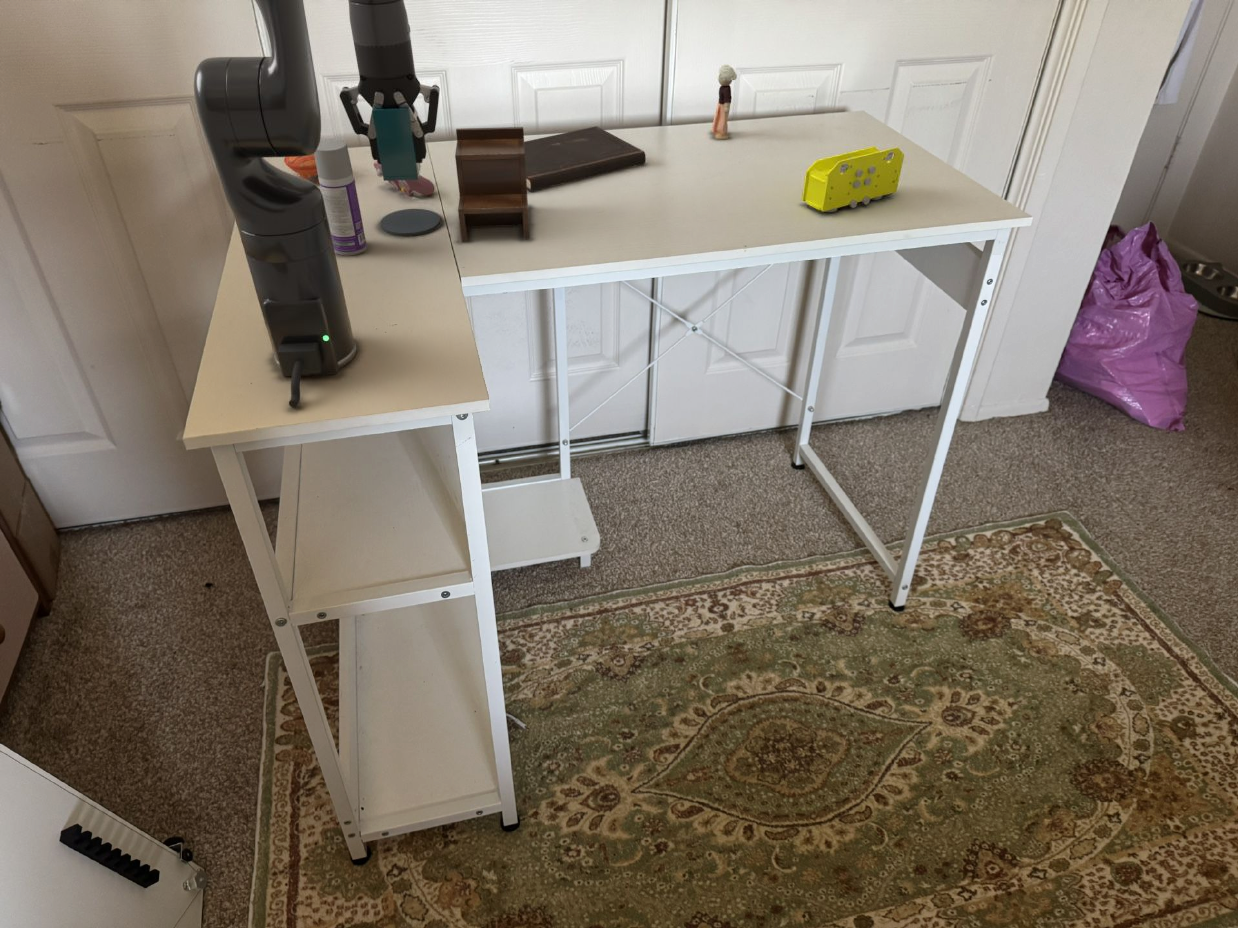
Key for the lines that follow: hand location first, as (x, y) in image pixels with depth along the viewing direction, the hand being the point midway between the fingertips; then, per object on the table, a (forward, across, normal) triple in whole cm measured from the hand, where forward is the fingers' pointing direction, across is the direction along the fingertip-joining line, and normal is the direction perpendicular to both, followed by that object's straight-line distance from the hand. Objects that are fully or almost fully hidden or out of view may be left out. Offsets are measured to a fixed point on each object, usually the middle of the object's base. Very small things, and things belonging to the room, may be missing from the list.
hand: (400, 161), depth 127 cm
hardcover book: (+10, +25, +23) cm, 35 cm away
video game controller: (+10, -2, +13) cm, 16 cm away
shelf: (+10, +13, -1) cm, 16 cm away
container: (+10, -8, -8) cm, 15 cm away
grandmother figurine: (+10, +55, +35) cm, 66 cm away
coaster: (+10, 0, 0) cm, 10 cm away
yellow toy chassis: (+10, +70, +3) cm, 71 cm away
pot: (+10, -18, +20) cm, 28 cm away
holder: (+2, 0, 0) cm, 2 cm away
